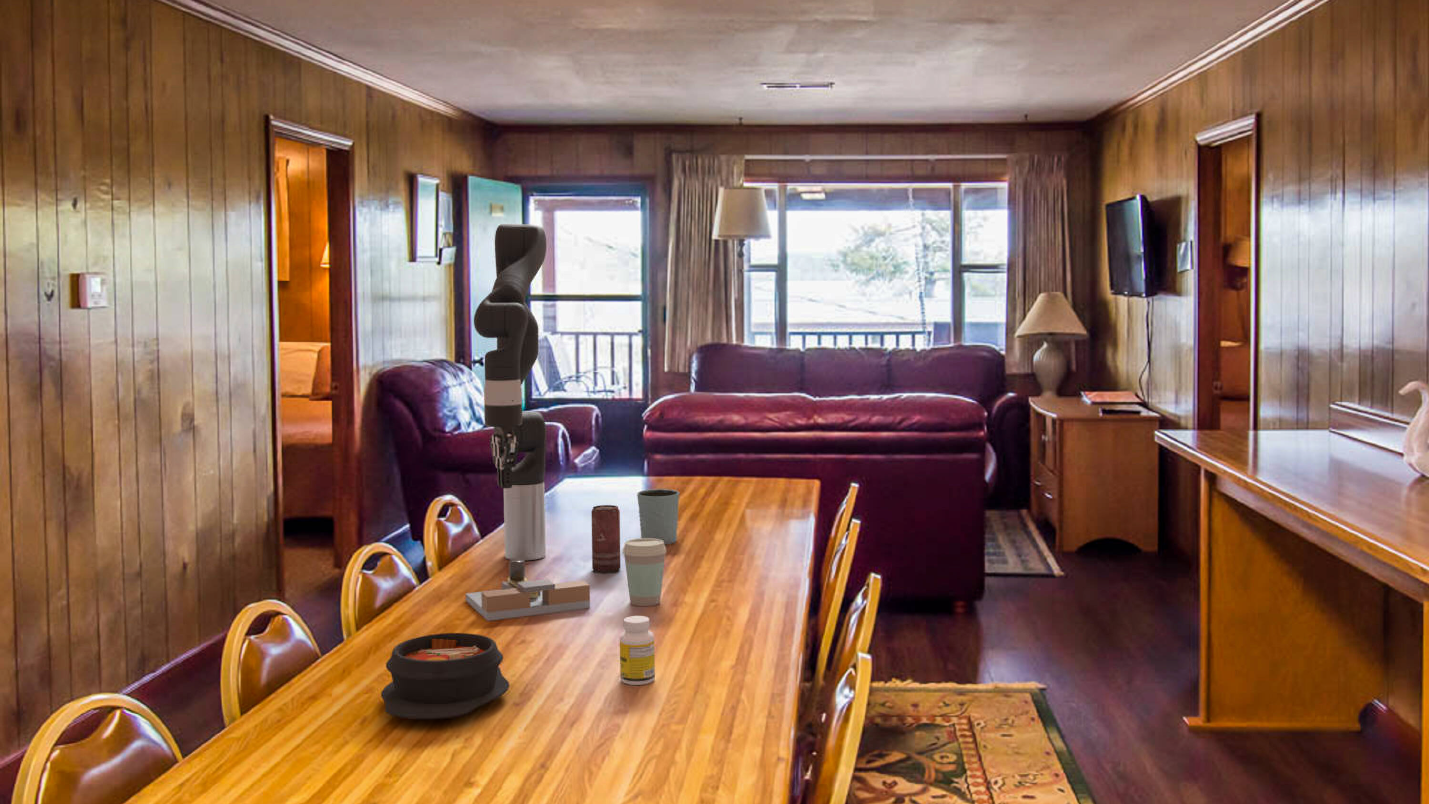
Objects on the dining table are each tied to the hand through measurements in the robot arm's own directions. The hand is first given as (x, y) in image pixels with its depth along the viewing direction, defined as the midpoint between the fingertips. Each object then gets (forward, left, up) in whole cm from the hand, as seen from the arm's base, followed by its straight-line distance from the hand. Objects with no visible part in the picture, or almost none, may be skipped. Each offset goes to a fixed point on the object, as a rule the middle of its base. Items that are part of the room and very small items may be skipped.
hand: (504, 486), depth 244 cm
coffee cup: (+23, +21, -21) cm, 38 cm away
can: (-6, +24, -21) cm, 33 cm away
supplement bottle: (+66, +2, -21) cm, 69 cm away
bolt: (+11, 0, -19) cm, 22 cm away
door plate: (+14, 0, -21) cm, 25 cm away
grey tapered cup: (-29, +46, -21) cm, 58 cm away
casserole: (+62, -27, -21) cm, 71 cm away
